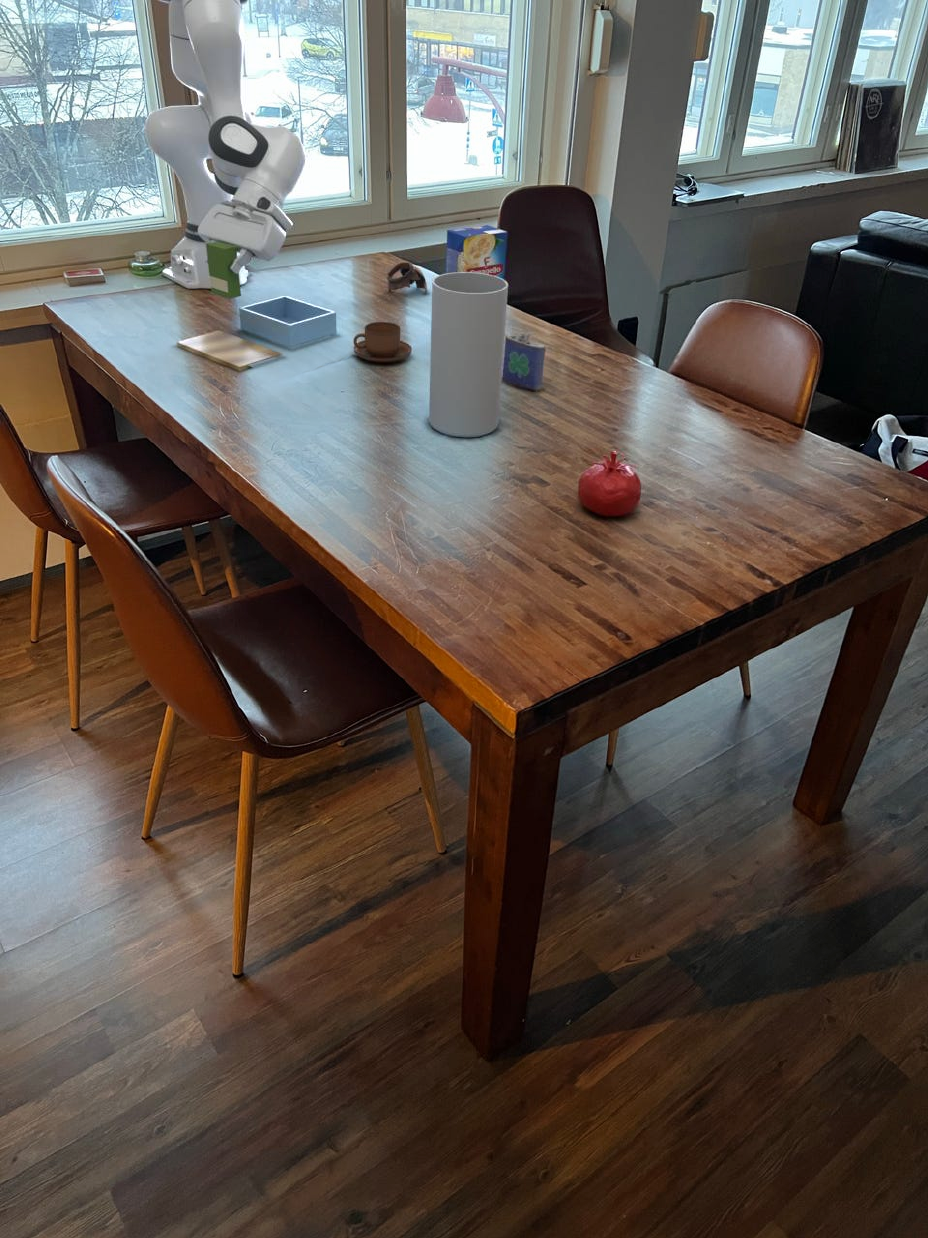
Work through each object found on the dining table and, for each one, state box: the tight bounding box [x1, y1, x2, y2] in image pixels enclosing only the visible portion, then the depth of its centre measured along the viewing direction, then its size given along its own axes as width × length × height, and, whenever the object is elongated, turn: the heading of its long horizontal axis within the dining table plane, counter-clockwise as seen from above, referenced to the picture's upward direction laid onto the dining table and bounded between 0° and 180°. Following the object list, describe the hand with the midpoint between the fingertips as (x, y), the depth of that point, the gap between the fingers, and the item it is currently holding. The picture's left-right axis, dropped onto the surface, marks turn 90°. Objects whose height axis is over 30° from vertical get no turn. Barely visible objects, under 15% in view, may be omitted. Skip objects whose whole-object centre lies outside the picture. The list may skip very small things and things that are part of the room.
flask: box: [501, 331, 546, 393], centre depth 181 cm, size 9×3×11 cm, turn 50°
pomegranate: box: [577, 450, 642, 518], centre depth 141 cm, size 10×10×9 cm
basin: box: [238, 295, 338, 348], centre depth 201 cm, size 16×13×5 cm
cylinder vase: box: [428, 272, 509, 438], centre depth 160 cm, size 12×12×25 cm
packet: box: [206, 241, 242, 300], centre depth 183 cm, size 6×3×10 cm, turn 51°
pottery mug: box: [386, 260, 429, 295], centre depth 232 cm, size 12×10×8 cm
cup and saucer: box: [352, 321, 412, 363], centre depth 192 cm, size 12×12×6 cm
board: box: [176, 330, 283, 372], centre depth 192 cm, size 20×11×1 cm, turn 51°
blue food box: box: [445, 224, 508, 280], centre depth 202 cm, size 7×11×22 cm, turn 127°
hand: (220, 267), depth 182 cm, fingers closed on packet, 5 cm apart
